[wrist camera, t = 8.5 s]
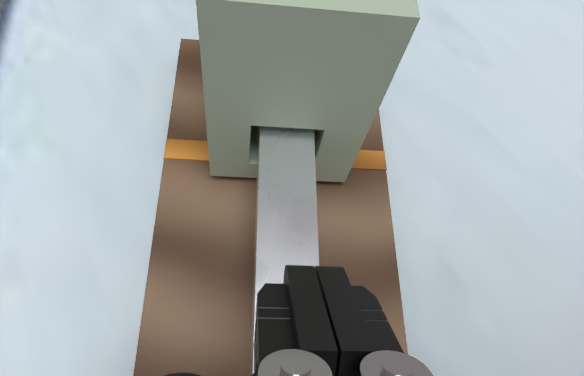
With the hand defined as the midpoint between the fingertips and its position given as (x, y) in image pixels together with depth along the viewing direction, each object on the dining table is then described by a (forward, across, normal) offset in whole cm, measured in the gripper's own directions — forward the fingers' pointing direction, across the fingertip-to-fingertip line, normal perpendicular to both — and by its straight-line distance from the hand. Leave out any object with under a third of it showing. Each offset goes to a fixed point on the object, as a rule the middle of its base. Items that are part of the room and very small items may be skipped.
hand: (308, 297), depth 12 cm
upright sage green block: (+14, 0, -1) cm, 14 cm away
